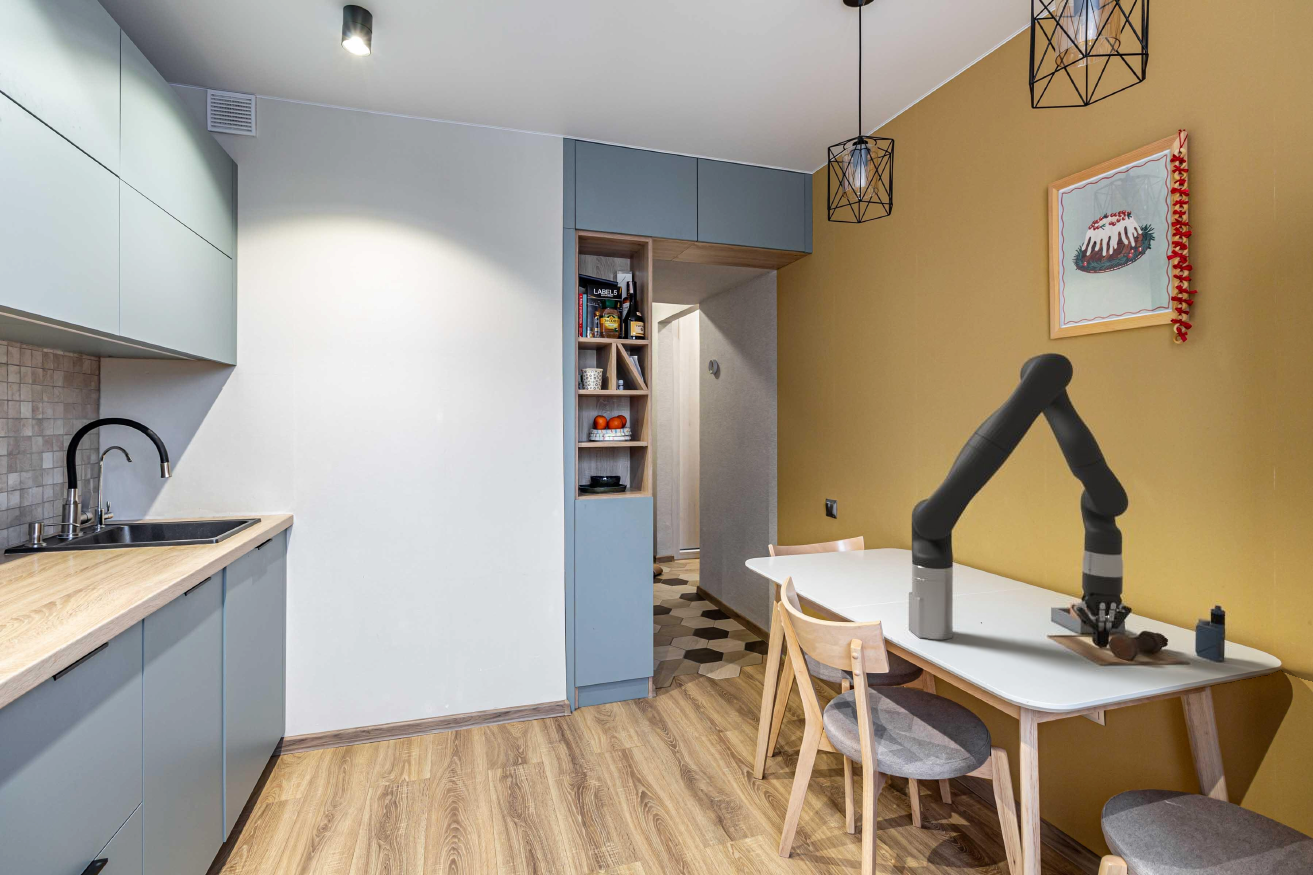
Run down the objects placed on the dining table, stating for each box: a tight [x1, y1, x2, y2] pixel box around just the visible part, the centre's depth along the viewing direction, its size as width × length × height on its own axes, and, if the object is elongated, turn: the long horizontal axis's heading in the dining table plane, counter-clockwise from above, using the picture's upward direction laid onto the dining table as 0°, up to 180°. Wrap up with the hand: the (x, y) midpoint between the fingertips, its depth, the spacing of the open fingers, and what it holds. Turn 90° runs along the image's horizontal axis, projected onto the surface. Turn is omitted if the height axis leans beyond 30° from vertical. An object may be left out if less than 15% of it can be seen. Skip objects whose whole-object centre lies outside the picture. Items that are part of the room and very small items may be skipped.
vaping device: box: [1194, 604, 1226, 663], centre depth 136 cm, size 3×5×12 cm, turn 16°
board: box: [1046, 633, 1191, 666], centre depth 142 cm, size 20×18×1 cm
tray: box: [1050, 606, 1126, 635], centre depth 157 cm, size 11×11×4 cm
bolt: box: [1108, 630, 1169, 661], centre depth 138 cm, size 6×5×15 cm
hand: (1100, 646), depth 142 cm, fingers closed
